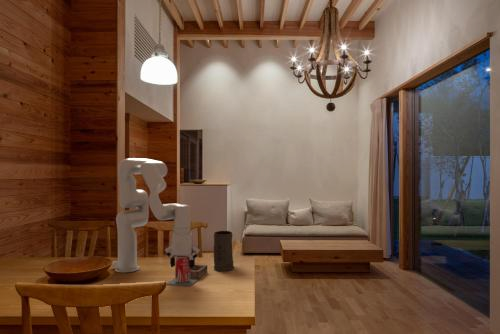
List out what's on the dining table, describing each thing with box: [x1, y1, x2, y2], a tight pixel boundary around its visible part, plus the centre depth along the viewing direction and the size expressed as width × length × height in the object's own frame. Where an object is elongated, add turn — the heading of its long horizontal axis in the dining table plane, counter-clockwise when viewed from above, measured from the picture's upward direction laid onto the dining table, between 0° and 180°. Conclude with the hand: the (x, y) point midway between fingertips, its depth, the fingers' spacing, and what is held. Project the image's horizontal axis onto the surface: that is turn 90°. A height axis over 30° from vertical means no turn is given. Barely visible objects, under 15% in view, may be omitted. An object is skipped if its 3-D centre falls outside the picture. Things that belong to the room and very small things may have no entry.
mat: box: [166, 277, 199, 288], centre depth 175 cm, size 12×10×1 cm
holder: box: [190, 264, 208, 281], centre depth 187 cm, size 12×12×4 cm
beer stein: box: [213, 230, 235, 273], centre depth 201 cm, size 15×11×20 cm
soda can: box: [174, 256, 191, 283], centre depth 175 cm, size 7×7×12 cm
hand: (182, 267), depth 175 cm, fingers open, 9 cm apart
